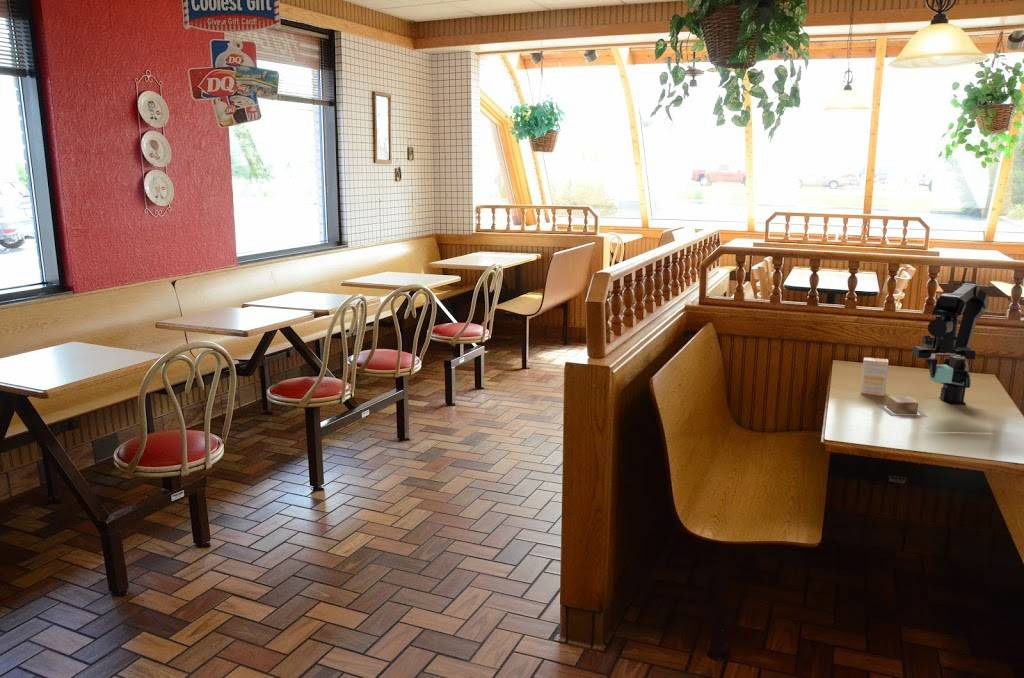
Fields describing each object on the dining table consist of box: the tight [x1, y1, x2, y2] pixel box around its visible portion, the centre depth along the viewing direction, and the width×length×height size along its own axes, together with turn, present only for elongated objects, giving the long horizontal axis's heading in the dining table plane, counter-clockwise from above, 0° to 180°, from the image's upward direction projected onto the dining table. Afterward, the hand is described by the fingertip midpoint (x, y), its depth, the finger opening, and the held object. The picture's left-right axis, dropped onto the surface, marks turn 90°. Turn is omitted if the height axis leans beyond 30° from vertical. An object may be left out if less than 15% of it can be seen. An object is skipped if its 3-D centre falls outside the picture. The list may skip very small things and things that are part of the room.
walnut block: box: [886, 395, 919, 414], centre depth 268 cm, size 7×7×4 cm
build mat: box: [876, 404, 928, 418], centre depth 268 cm, size 12×12×1 cm
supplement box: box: [860, 356, 889, 397], centre depth 286 cm, size 8×5×13 cm, turn 65°
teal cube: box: [928, 363, 953, 384], centre depth 266 cm, size 5×5×5 cm
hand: (940, 377), depth 266 cm, fingers closed on teal cube, 5 cm apart
